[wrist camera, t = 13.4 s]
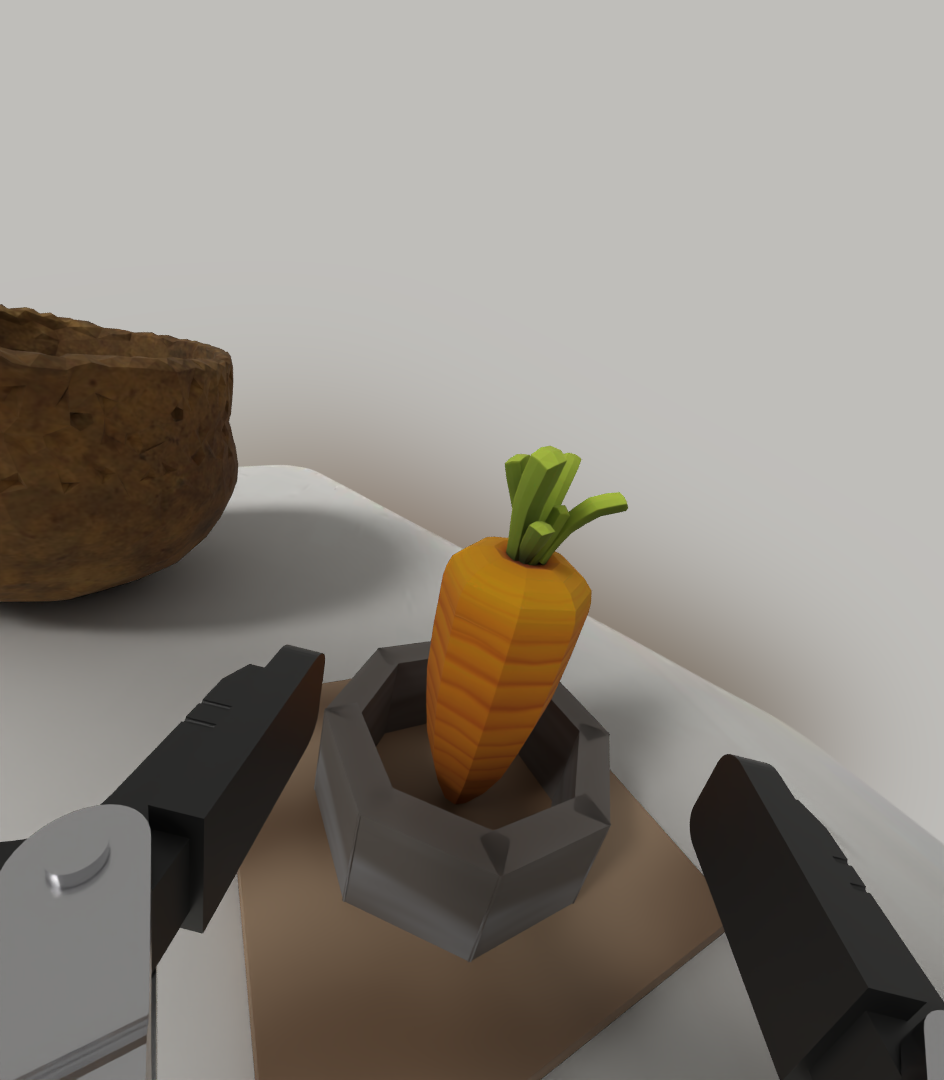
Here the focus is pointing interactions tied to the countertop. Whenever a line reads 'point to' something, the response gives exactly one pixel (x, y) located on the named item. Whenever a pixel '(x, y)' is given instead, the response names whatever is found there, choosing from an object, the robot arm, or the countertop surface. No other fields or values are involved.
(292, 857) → the ring holder
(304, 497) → the countertop surface
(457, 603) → the carrot
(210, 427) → the bowl
